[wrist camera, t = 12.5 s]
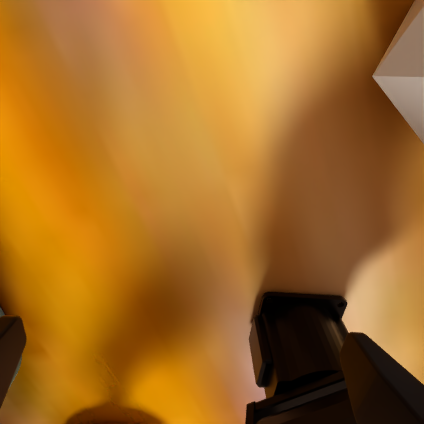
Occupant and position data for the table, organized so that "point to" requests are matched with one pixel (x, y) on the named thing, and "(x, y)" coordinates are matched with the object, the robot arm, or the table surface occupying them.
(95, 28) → the table surface
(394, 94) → the die
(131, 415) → the table surface
